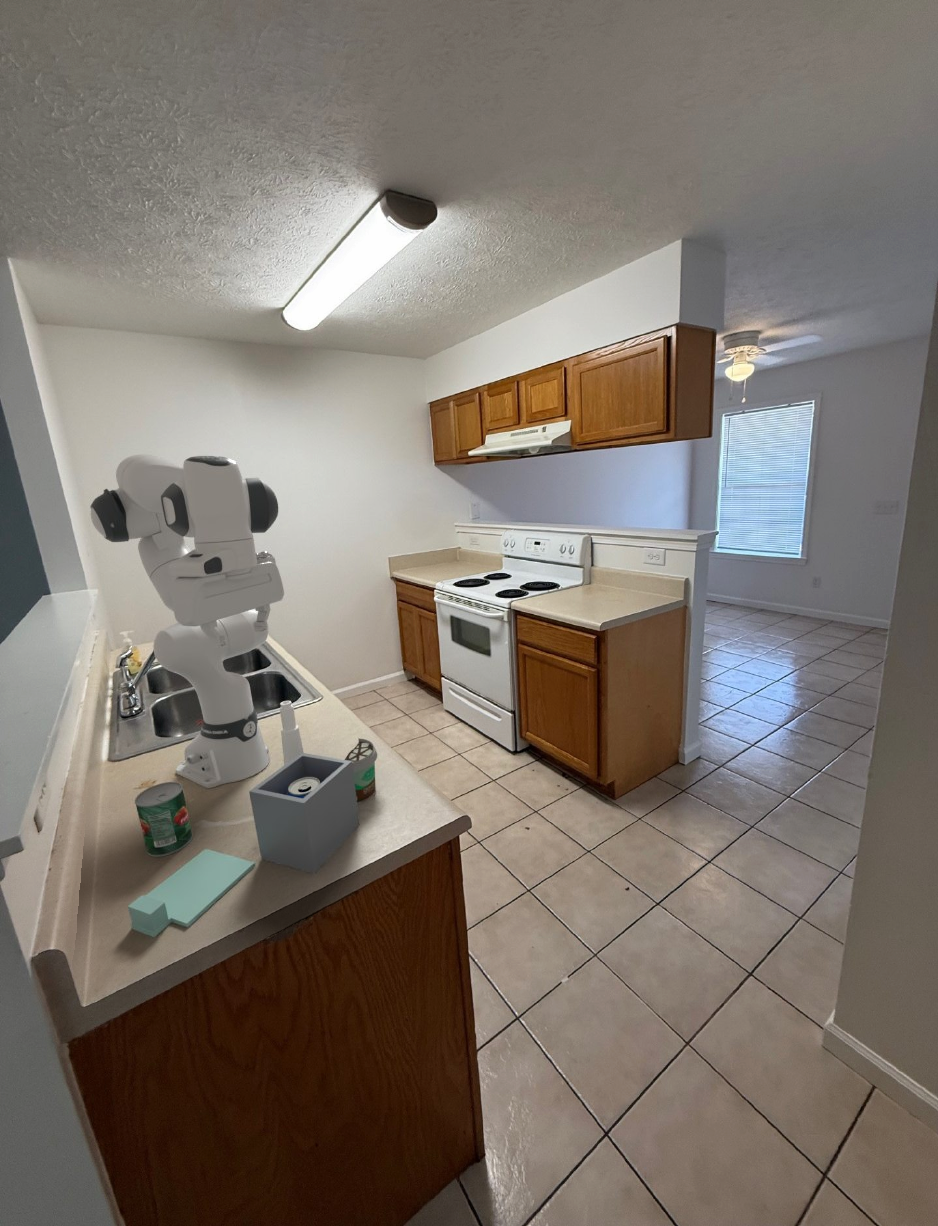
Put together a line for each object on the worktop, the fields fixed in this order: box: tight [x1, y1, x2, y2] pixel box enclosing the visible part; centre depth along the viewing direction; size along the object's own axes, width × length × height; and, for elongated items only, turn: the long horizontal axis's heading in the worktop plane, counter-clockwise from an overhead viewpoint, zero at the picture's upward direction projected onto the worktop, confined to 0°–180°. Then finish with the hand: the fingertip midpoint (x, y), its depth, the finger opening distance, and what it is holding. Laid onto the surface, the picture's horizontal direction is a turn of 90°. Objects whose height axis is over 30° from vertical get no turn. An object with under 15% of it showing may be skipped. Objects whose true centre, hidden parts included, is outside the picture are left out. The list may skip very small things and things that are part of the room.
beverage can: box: [287, 777, 321, 799], centre depth 95 cm, size 6×6×12 cm
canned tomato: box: [134, 781, 194, 858], centre depth 97 cm, size 8×8×11 cm
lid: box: [127, 848, 256, 938], centre depth 85 cm, size 12×17×4 cm
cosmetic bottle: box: [279, 700, 305, 766], centre depth 110 cm, size 6×6×22 cm
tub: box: [248, 752, 361, 874], centre depth 95 cm, size 12×14×14 cm
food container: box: [344, 738, 378, 804], centre depth 110 cm, size 12×6×10 cm, turn 168°
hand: (241, 638), depth 86 cm, fingers open, 8 cm apart
